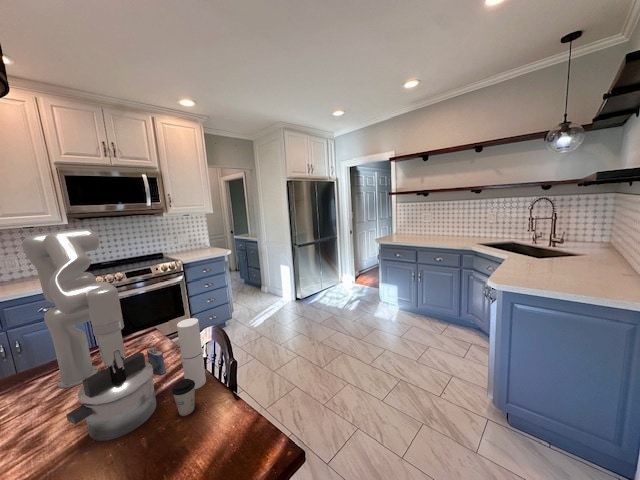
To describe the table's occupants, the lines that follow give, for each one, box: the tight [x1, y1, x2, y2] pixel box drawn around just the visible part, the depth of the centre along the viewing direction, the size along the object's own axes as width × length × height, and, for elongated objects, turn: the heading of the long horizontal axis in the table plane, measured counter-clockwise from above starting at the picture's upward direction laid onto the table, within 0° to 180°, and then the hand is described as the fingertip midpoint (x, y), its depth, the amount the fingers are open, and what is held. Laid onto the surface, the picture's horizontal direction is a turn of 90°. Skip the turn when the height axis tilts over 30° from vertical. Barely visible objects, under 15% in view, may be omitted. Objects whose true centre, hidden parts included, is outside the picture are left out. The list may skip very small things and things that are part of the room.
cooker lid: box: [77, 351, 154, 406], centre depth 85 cm, size 19×19×6 cm
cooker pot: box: [65, 362, 161, 442], centre depth 87 cm, size 18×26×12 cm
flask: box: [146, 346, 166, 376], centre depth 109 cm, size 9×3×11 cm, turn 61°
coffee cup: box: [171, 378, 196, 417], centre depth 88 cm, size 7×7×10 cm
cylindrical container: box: [176, 317, 207, 390], centre depth 100 cm, size 7×7×25 cm
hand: (118, 378), depth 85 cm, fingers closed on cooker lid, 3 cm apart
